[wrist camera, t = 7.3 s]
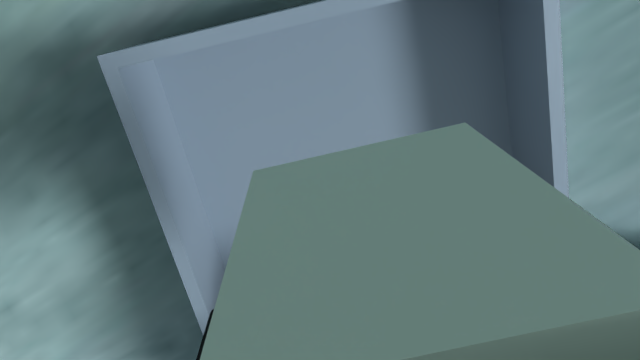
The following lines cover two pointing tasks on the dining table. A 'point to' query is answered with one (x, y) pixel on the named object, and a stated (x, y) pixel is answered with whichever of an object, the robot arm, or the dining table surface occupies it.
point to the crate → (327, 102)
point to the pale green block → (422, 261)
